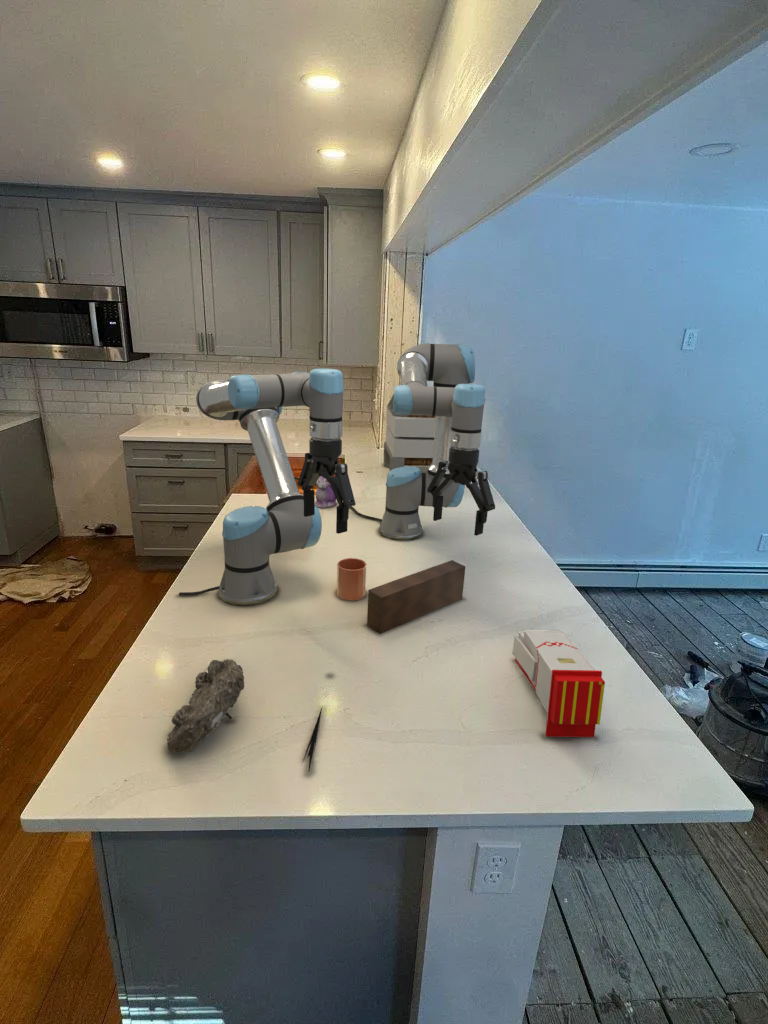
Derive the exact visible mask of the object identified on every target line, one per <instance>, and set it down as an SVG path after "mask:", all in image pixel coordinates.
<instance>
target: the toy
mask: <svg viewBox="0 0 768 1024" xmlns="http://www.w3.org/2000/svg"><path fill="white" fill-rule="evenodd" d="M511 653H512V655H513V656H514V661H515V662H516V664H517V666H518V667H519V669H520V670H521V672H522V673H523V675H524V676H525V678H526V679H527V681H528V682H529V684H530V685H531V687H532V689H533V690H534V691H535V693H536V696H537V697H538V699H539V700H540V702H541V705H542V706H543V708H544V709H545V711H546V713H547V717H546V725H545V726H546V727H545V737H546V738H595V734H596V725H601V717H602V708H603V701H604V693H605V684H606V681H605V680H604V679H603V678H602V677H603V671H602V670H596V669H595V668H594V667H593V665H592V664H591V663H590V662H589V660H588V659H587V658H586V657H585V655H584V654H583V653H582V652H581V651H580V650H579V648H578V647H577V646H576V645H575V643H574V642H573V641H572V640H571V639H570V637H569V635H567V633H566V632H565V631H564V630H560V629H559V630H554V629H552V630H551V629H550V630H549V629H523V631H518V635H514V639H513V645H512V652H511Z"/></svg>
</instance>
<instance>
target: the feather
mask: <svg viewBox="0 0 768 1024" xmlns="http://www.w3.org/2000/svg"><path fill="white" fill-rule="evenodd" d="M329 675H330V676H331V675H332V674H331V673H330V674H329ZM322 710H323V707H321V708H320V710H319V713H318V716H317V719H316V723H315V725H314V728H313V731H312V733H311V737H310V739H309V742H308V745H307V748H306V751H305V754H304V757H303V760H302V763H301V767H302V765H303V763H304V761H305V758H308V759H309V760H308V762H307V763H308V764H307V766H308V771H310V770H311V766H312V765H311V764H312V760H313V757H315V756H314V755H315V751H316V749H315V746H317V739H318V733H319V729H320V722H321V717H322V712H323V711H322ZM313 754H314V755H313ZM306 755H307V757H306Z"/></svg>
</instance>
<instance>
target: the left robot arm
mask: <svg viewBox="0 0 768 1024" xmlns="http://www.w3.org/2000/svg"><path fill="white" fill-rule="evenodd" d="M343 377H344V375H343V372H342V371H341V370H339V369H336V368H333V369H332V368H325V367H323V368H313V369H311V370H310V371H309V372H307V371H294V372H292V373H274V374H250V373H249V374H247V373H244V374H236V375H232V376H231V377H230V378H229V379H217V380H213V381H209V382H207V383H205V384H203V385H202V386H200V388H198V391H197V393H196V396H195V401H196V405H197V408H198V410H199V411H200V412H201V413H202V414H203V415H204V416H206V417H208V418H210V419H213V420H217V421H238V422H239V424H240V425H239V426H240V427H241V429H242V430H244V431H246V432H247V433H248V436H249V439H250V443H251V447H252V449H253V453H254V456H255V459H256V462H257V465H258V468H259V472H260V476H261V478H262V482H263V485H264V488H265V491H266V494H267V498H268V501H269V503H268V504H267V506H266V507H264V506H260V505H255V506H252V505H247V506H242V507H239V508H236V509H233V510H231V511H230V512H228V513H227V514H226V515H225V516H224V518H223V520H222V532H221V536H222V541H223V542H222V543H223V557H224V558H223V559H224V570H223V573H222V577H221V579H220V584H219V585H217V586H214V587H209V588H206V589H203V590H199V591H188V592H187V591H183V592H181V591H180V592H178V595H179V596H197V595H201V594H202V595H203V594H206V593H209V592H213V591H217V590H218V594H219V595H218V596H219V598H220V599H221V600H222V601H223V602H225V603H227V604H230V605H234V606H255V605H259V604H263V603H265V602H268V601H270V600H271V599H273V598H274V597H275V596H276V595H277V591H278V588H277V587H278V586H277V585H278V579H276V578H275V576H274V573H273V571H272V568H271V566H270V556H271V555H275V554H280V553H286V552H290V551H296V550H304V549H305V548H310V547H313V546H316V544H318V542H319V541H320V538H321V535H322V531H323V521H322V516H321V512H320V509H319V507H317V506H316V501H315V500H316V490H315V483H316V482H317V480H318V479H319V477H320V476H322V477H323V478H325V479H326V480H327V482H329V483H330V485H331V488H332V490H333V492H334V495H335V497H336V502H337V504H338V505H336V515H335V516H336V518H335V519H336V522H335V526H336V527H335V534H343V533H346V532H348V522H349V521H348V520H349V513H350V506H352V507H354V506H356V500H355V499H356V498H355V496H354V492H353V488H352V484H351V481H350V477H349V471H348V469H349V468H348V463H339V457H340V456H341V455H342V453H343V440H342V439H341V438H342V437H343V412H344V411H343V410H344V389H345V388H344V378H343ZM286 407H308V411H309V416H308V417H309V436H310V439H309V440H308V441H309V443H308V444H309V447H308V448H309V452H305V453H304V461H303V464H302V468H301V471H300V473H299V477H298V478H299V480H297V482H296V479H294V477H295V476H294V473H293V470H292V466H291V464H290V461H289V458H288V454H287V452H286V449H285V445H284V442H283V439H282V436H281V433H280V429H279V427H278V424H277V423H278V422H279V420H280V416H281V414H282V412H283V408H286ZM303 480H304V481H303ZM298 487H301V490H302V493H300V492H299V488H298ZM342 500H343V501H342Z"/></svg>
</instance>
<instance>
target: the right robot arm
mask: <svg viewBox="0 0 768 1024" xmlns="http://www.w3.org/2000/svg"><path fill="white" fill-rule="evenodd" d="M396 371H397V374H398V376H399V379H400V384H397V385H395V386H394V387H393V394H394V401H393V411H394V412H395V413H396V414H404V415H423V416H436V420H435V434H434V448H433V462H432V464H431V465H430V466H429V465H428V466H427V471H426V472H422V469H421V468H420V467H419V466H407V465H404V467H399V468H395V469H393V470H391V471H390V470H389V471H388V473H387V475H386V482H385V486H386V488H385V489H386V490H385V504H384V505H385V507H384V508H385V509H384V513H383V515H382V518H378V517H375V516H370V515H366V514H363V513H361V512H359V511H358V510H356V508H355V507H354V506H350V507H349V509H351V510H352V511H353V512H354V513H355V514H356V515H358V516H360V517H362V518H365V519H369V520H374V521H378V522H379V526H378V533H379V534H380V535H381V536H382V537H385V538H387V539H389V540H395V541H410V540H415V539H418V538H420V537H421V536H422V535H423V525H422V524H421V518H420V515H419V507H432V508H433V516H432V521H434V522H437V521H440V520H442V519H443V508H446V509H447V508H457V507H459V506H460V504H461V502H462V500H463V497H464V493H465V489H466V488H467V489H468V490H469V492H470V494H471V496H472V498H473V500H474V502H475V504H476V506H477V508H478V509H477V510H476V514H475V523H474V532H473V535H474V536H476V537H477V536H480V535H482V534H484V527H485V524H486V523H487V521H488V514H489V513H488V512H491V511H494V510H496V504H495V499H494V497H493V494H492V490H491V487H490V483H489V473H488V471H487V470H483V471H481V470H478V465H479V460H480V449H479V448H480V447H481V443H482V442H481V440H482V429H483V428H482V426H483V420H484V419H483V418H484V409H485V403H486V388H485V387H484V386H483V385H480V384H475V380H476V360H475V353H474V350H473V348H472V347H471V346H470V345H465V344H453V343H452V344H449V343H448V344H447V343H429V342H426V343H425V342H424V343H419V344H416V345H413V346H412V347H410V348H407V349H406V350H405V351H404V352H402V354H401V355H400V357H399V358H398V360H397V365H396ZM428 382H433V384H432V386H428ZM294 479H295V481H296V480H297V481H298V480H299V477H296V476H294ZM303 481H304V480H303ZM314 487H317V486H316V483H315V485H314ZM342 502H343V500H342Z"/></svg>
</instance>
